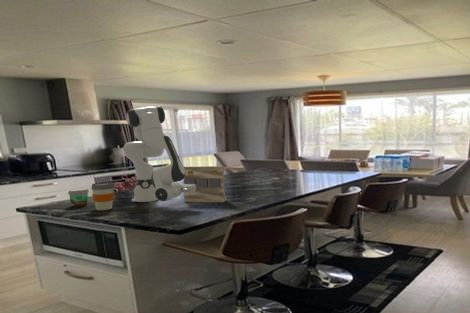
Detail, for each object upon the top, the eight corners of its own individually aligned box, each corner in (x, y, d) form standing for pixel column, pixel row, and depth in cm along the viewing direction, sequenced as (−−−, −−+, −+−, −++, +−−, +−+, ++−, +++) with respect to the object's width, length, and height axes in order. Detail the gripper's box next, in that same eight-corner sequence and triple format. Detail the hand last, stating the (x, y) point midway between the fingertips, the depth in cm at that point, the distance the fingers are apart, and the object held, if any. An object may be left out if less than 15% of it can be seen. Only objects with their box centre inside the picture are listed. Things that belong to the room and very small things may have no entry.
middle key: (200, 186, 227) (199, 178, 226) (209, 186, 225) (208, 178, 225) (197, 187, 222) (196, 179, 222) (206, 187, 220) (206, 179, 220)
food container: (71, 208, 219) (70, 191, 218) (68, 206, 224) (67, 190, 223) (92, 205, 227) (91, 189, 226) (89, 203, 232) (88, 188, 231)
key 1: (188, 186, 229) (187, 178, 229) (197, 186, 227) (196, 178, 227) (185, 187, 224) (184, 179, 224) (194, 187, 223) (193, 179, 222)
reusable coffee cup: (114, 209, 210) (113, 184, 209) (91, 211, 206) (90, 185, 205) (115, 205, 222) (114, 181, 221) (94, 207, 219) (92, 183, 218)
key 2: (212, 185, 226) (212, 178, 226) (221, 186, 224) (221, 178, 224) (210, 187, 221) (209, 179, 221) (219, 187, 220) (219, 179, 219)
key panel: (188, 199, 233) (186, 166, 232) (226, 200, 227) (225, 165, 225) (183, 201, 227) (182, 167, 225) (223, 202, 220) (222, 166, 219)
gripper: (191, 184, 198) (199, 180, 211) (157, 183, 203) (167, 180, 217) (191, 195, 198) (200, 191, 212) (157, 194, 204) (168, 190, 217)
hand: (183, 185), depth 214 cm, fingers closed
